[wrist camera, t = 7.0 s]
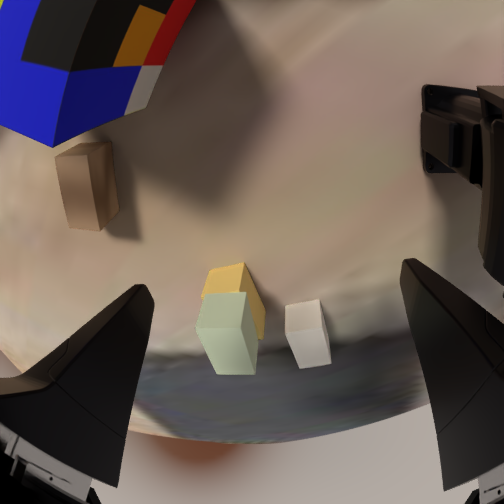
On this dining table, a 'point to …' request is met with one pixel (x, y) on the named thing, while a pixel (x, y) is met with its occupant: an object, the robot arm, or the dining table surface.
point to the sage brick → (228, 333)
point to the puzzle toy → (81, 61)
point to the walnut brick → (88, 185)
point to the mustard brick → (237, 290)
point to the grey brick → (307, 334)
